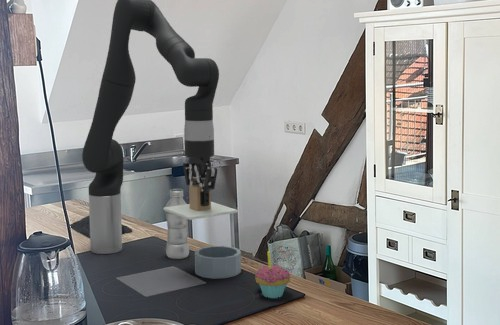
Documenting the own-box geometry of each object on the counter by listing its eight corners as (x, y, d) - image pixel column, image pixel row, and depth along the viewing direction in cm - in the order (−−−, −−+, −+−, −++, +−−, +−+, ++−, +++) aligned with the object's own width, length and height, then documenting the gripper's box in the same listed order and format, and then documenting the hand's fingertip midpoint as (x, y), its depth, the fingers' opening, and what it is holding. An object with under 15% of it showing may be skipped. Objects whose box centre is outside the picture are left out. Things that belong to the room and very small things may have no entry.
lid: (163, 209, 169) (162, 184, 169) (209, 203, 177) (209, 179, 176) (189, 219, 158) (189, 193, 157) (238, 212, 166) (237, 186, 165)
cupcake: (278, 303, 152) (279, 253, 150) (247, 296, 156) (248, 248, 154) (296, 292, 159) (296, 245, 157) (266, 286, 163) (266, 240, 162)
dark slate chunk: (106, 221, 233) (106, 208, 232) (135, 234, 215) (135, 220, 215) (65, 227, 224) (64, 214, 223) (92, 241, 206) (91, 227, 206)
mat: (115, 280, 167) (115, 277, 167) (173, 268, 177) (173, 266, 177) (145, 299, 154) (145, 296, 154) (206, 285, 164) (206, 282, 163)
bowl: (186, 272, 174) (186, 250, 174) (224, 264, 181) (224, 243, 181) (210, 284, 165) (210, 261, 164) (249, 275, 172) (249, 253, 171)
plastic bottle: (185, 262, 183) (184, 192, 180) (162, 261, 184) (161, 191, 181) (192, 256, 189) (191, 188, 186) (169, 254, 190) (168, 187, 187)
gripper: (226, 139, 161) (227, 207, 164) (198, 134, 173) (199, 198, 175) (200, 141, 157) (201, 211, 160) (172, 136, 169) (174, 201, 171)
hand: (200, 204), depth 167 cm, fingers closed on lid, 4 cm apart
